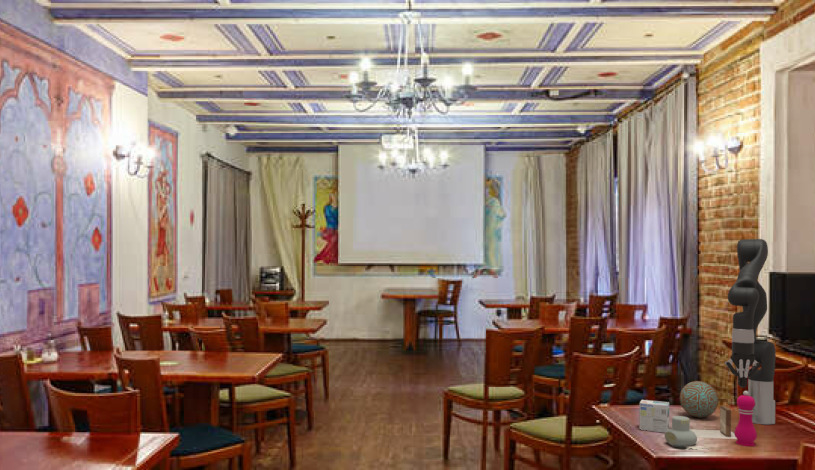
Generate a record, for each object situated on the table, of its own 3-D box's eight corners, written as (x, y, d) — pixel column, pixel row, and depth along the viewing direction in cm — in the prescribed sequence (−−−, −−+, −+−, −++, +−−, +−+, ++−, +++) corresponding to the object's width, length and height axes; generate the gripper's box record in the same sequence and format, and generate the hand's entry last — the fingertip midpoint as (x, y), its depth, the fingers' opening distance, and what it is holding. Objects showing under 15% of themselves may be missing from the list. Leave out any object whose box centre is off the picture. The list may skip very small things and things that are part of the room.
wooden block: (724, 432, 274) (724, 405, 274) (730, 437, 267) (731, 409, 267) (719, 432, 274) (719, 405, 274) (725, 436, 267) (726, 409, 267)
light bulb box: (669, 429, 281) (669, 401, 281) (667, 433, 275) (668, 405, 275) (640, 426, 286) (641, 399, 286) (638, 430, 280) (639, 402, 280)
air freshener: (700, 449, 254) (700, 420, 254) (680, 450, 252) (680, 422, 252) (680, 441, 265) (680, 413, 265) (661, 442, 262) (661, 414, 262)
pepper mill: (730, 444, 261) (730, 388, 261) (749, 444, 262) (750, 388, 262) (741, 450, 254) (741, 392, 254) (760, 449, 254) (761, 392, 255)
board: (730, 434, 276) (730, 430, 276) (742, 442, 264) (742, 439, 264) (676, 431, 278) (676, 428, 278) (685, 440, 266) (685, 436, 266)
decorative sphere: (684, 420, 296) (685, 383, 297) (675, 412, 311) (676, 377, 312) (722, 422, 295) (723, 385, 295) (711, 413, 310) (712, 378, 310)
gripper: (757, 340, 273) (757, 386, 273) (721, 339, 275) (720, 384, 274) (765, 342, 266) (764, 389, 265) (728, 341, 267) (727, 388, 267)
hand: (742, 387), depth 270 cm, fingers closed
